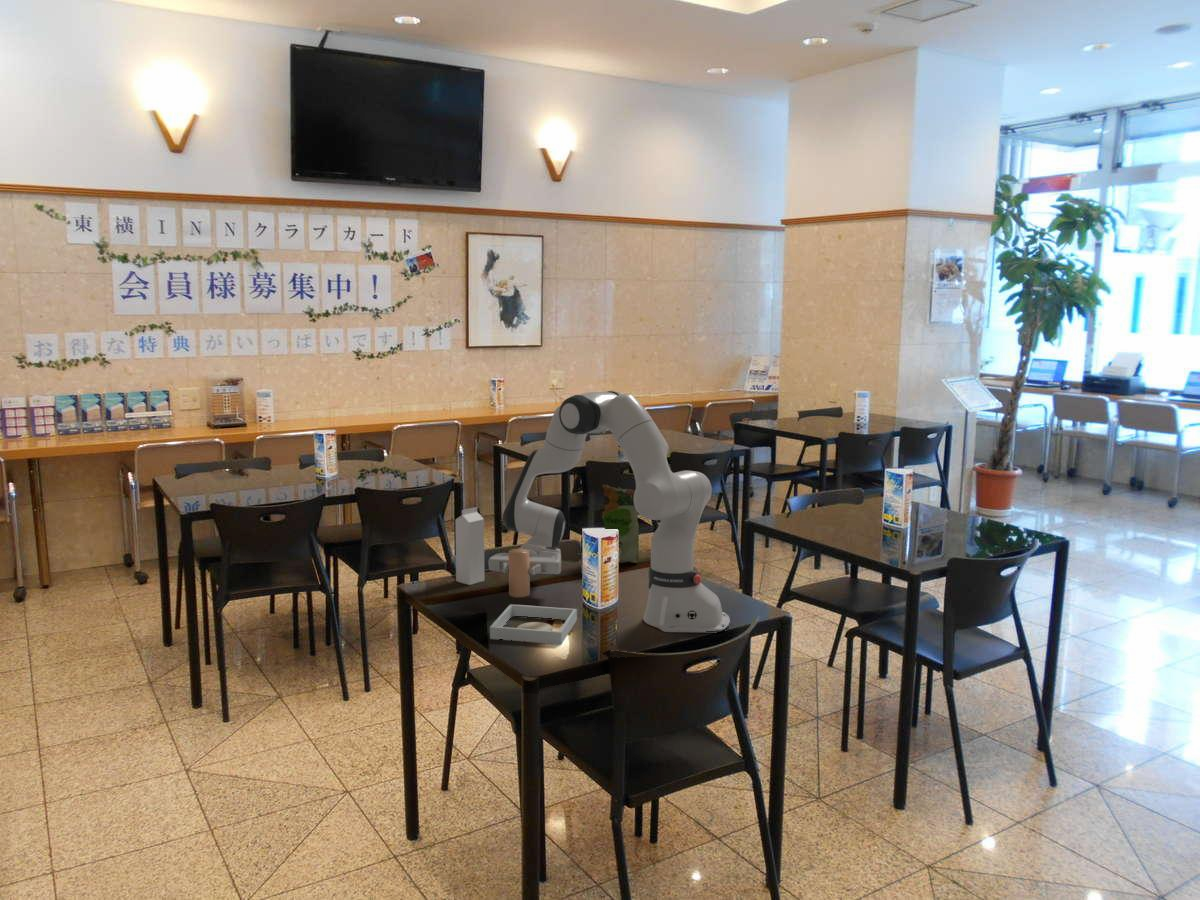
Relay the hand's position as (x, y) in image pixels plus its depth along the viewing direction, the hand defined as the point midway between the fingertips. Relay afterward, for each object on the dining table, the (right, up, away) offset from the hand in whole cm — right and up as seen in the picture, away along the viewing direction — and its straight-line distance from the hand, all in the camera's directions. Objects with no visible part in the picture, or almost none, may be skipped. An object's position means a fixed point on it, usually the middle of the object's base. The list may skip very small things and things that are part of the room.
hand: (518, 571), depth 250 cm
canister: (0, -6, +2) cm, 7 cm away
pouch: (+28, -3, +47) cm, 55 cm away
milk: (-16, -6, +25) cm, 30 cm away
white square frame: (+6, -13, -16) cm, 21 cm away
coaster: (+6, -13, -16) cm, 21 cm away
